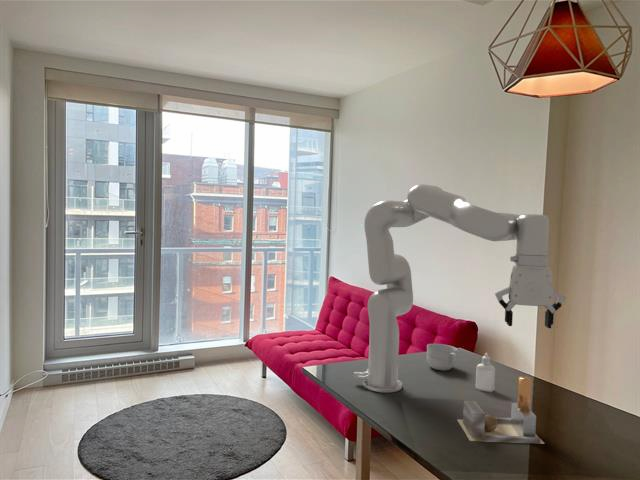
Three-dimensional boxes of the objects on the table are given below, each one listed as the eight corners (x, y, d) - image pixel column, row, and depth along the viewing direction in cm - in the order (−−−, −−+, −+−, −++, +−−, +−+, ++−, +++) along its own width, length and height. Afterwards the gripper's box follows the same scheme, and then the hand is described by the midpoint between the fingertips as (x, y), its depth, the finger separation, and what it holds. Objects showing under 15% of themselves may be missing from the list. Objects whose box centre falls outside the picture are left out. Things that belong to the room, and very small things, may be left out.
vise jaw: (522, 437, 118) (525, 383, 118) (510, 423, 126) (513, 372, 126) (535, 438, 118) (538, 384, 118) (522, 423, 126) (524, 373, 126)
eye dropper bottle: (486, 393, 152) (488, 356, 151) (473, 387, 157) (474, 351, 156) (496, 391, 154) (498, 354, 153) (482, 385, 159) (484, 350, 158)
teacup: (421, 363, 180) (422, 342, 180) (448, 362, 182) (449, 342, 182) (437, 376, 167) (438, 353, 166) (466, 375, 169) (467, 353, 168)
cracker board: (469, 446, 117) (471, 416, 116) (456, 424, 129) (458, 397, 128) (544, 449, 116) (546, 419, 116) (524, 427, 128) (525, 399, 128)
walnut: (483, 433, 121) (484, 418, 120) (478, 426, 125) (479, 411, 124) (499, 434, 121) (500, 418, 120) (494, 427, 125) (494, 412, 124)
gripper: (499, 261, 123) (497, 327, 124) (571, 264, 121) (568, 331, 122) (494, 259, 131) (491, 321, 132) (561, 261, 128) (558, 324, 129)
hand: (528, 326), depth 127 cm, fingers open, 9 cm apart
